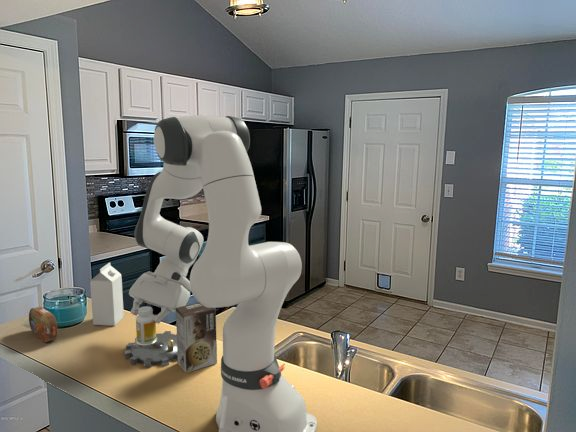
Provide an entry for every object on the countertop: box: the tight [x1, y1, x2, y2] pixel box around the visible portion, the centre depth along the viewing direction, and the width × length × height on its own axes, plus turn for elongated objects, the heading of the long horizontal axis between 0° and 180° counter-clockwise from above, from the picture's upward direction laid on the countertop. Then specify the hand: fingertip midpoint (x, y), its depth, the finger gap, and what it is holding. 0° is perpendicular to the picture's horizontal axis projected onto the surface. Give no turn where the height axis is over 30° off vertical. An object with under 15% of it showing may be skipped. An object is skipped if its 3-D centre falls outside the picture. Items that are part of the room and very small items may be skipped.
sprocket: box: [124, 330, 178, 368], centre depth 124 cm, size 18×18×4 cm
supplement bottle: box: [135, 305, 157, 344], centre depth 126 cm, size 5×5×10 cm
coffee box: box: [175, 302, 218, 374], centre depth 116 cm, size 9×6×16 cm
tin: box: [28, 306, 58, 343], centre depth 130 cm, size 15×3×8 cm, turn 50°
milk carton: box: [89, 262, 125, 327], centre depth 140 cm, size 7×7×19 cm
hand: (144, 318), depth 125 cm, fingers open, 8 cm apart
